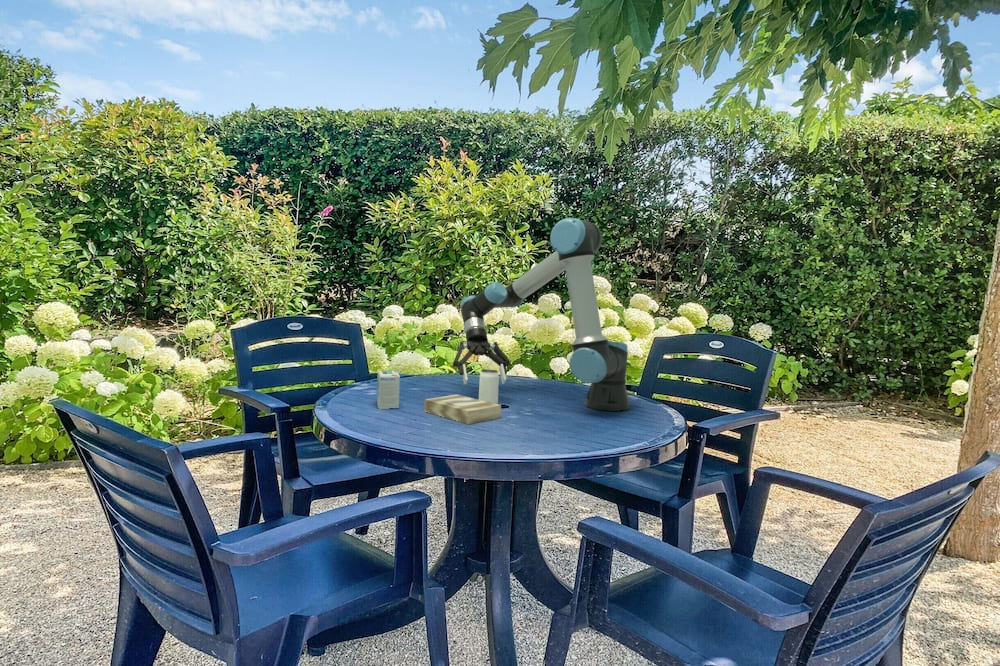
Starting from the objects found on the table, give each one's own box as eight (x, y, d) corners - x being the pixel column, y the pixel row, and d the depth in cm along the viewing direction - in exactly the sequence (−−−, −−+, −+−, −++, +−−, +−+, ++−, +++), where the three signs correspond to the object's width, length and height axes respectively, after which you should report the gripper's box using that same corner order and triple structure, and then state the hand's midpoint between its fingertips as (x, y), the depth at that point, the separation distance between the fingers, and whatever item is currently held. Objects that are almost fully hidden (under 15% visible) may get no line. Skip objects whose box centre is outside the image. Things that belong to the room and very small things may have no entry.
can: (476, 403, 207) (477, 369, 206) (494, 403, 209) (496, 369, 208) (481, 408, 201) (482, 372, 200) (499, 407, 203) (501, 372, 202)
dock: (500, 417, 189) (501, 404, 189) (468, 424, 179) (468, 410, 179) (456, 406, 203) (456, 393, 202) (424, 412, 192) (424, 398, 192)
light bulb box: (376, 402, 204) (376, 370, 203) (396, 402, 205) (397, 370, 204) (378, 409, 193) (379, 376, 192) (399, 409, 195) (400, 376, 194)
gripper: (506, 339, 226) (517, 387, 213) (440, 339, 218) (447, 388, 206) (511, 327, 220) (522, 375, 207) (443, 326, 213) (451, 375, 200)
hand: (485, 381), depth 206 cm, fingers open, 13 cm apart
